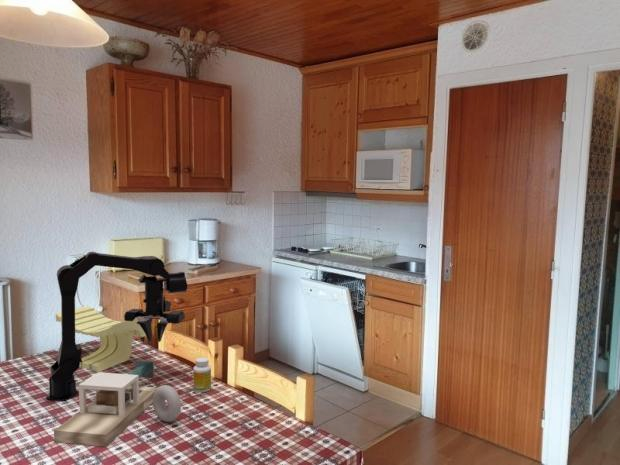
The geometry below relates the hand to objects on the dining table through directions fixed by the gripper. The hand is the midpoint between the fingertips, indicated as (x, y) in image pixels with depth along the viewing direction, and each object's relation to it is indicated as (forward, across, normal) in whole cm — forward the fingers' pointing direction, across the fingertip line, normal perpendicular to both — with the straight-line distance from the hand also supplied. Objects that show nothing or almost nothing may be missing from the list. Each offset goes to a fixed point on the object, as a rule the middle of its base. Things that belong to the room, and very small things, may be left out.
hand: (155, 341), depth 163 cm
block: (+10, 0, +28) cm, 30 cm away
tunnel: (+10, 0, +28) cm, 30 cm away
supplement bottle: (+13, -18, +5) cm, 23 cm away
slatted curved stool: (+13, +26, -13) cm, 32 cm away
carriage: (+10, 0, +20) cm, 22 cm away
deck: (+13, 0, +28) cm, 31 cm away
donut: (+13, -16, +27) cm, 34 cm away
